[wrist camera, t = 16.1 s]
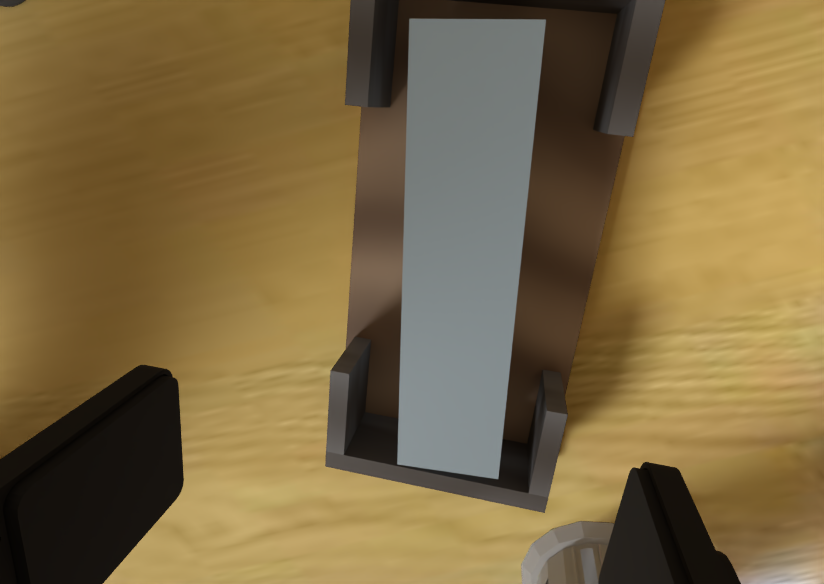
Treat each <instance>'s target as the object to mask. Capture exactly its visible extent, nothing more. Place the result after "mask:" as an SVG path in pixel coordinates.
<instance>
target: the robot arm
mask: <svg viewBox="0 0 824 584" xmlns="http://www.w3.org/2000/svg"><path fill="white" fill-rule="evenodd" d="M183 481H184V478H183V460H182V442H181V424H180V406H179V388H178V381H177V379H175V378H173V377H172V374H171V372H170V371H169V370H167V369H163V368H158V367H153V366H147V365H140V366H138V367H136V368H134V369H133V370H131V371H130V372H128V373H127V374H125V375H124V376H123V377H121V378H120V379H118V380H117V381H115V382H114V383H112V384H111V385H109V386H108V387H106V388H105V389H103V390H102V391H100V392H99V393H97V394H96V395H95V396H93V397H92V398H90V399H89V400H87V401H86V402H84V403H83V404H81V405H80V406H78V407H77V408H75V409H74V410H72V411H71V412H69V413H68V414H66V415H65V416H64V417H62V418H61V419H59V420H58V421H56V422H55V423H53V424H52V425H50V426H49V427H47V428H46V429H44V430H43V431H41V432H40V433H38V434H37V435H36V436H34V437H33V438H31V439H30V440H28V441H27V442H25V443H24V444H22V445H21V446H19V447H18V448H16V449H15V450H13V451H12V452H10V453H9V454H8V455H6V456H5V457H3V458H2V459H0V584H103V583H104V581H105V580H106V579H107V578H108V577H109V576H110V575H111V573H112V572H113V571H114V570H115V569H116V568H117V567H118V565H119V564H120V563H121V562H122V561H123V560H124V559H125V557H126V556H127V555H128V554H129V553H130V552H131V550H132V549H133V548H134V547H135V546H136V545H137V544H138V542H139V541H140V540H141V539H142V538H143V537H144V536H145V534H146V533H147V532H148V531H149V530H150V529H151V528H152V526H153V525H154V524H155V523H156V522H157V521H158V520H159V518H160V517H161V516H162V515H163V514H164V513H165V511H166V510H167V509H168V508H169V507H170V506H171V505H172V503H173V502H174V501H175V500H176V499H177V497H178V496H179V494H180V492H181V490H182V487H183ZM598 584H741V583H740V581H739V579H738V577H737V575H736V572H735V570H734V568H733V566H732V564H731V562H730V561H729V559H728V558H727V556H726V555H725V554H723V553H722V552H719V551H716V550H715V548H714V546H713V543H712V541H711V539H710V537H709V535H708V532H707V530H706V528H705V526H704V524H703V521H702V519H701V517H700V515H699V513H698V510H697V508H696V506H695V504H694V502H693V499H692V497H691V495H690V493H689V491H688V488H687V486H686V484H685V482H684V479H683V477H682V475H681V473H680V471H679V470H678V469H677V468H675V467H670V466H664V465H659V464H654V463H649V462H645V463H643V464H642V466H641V468H640V469H639V468H632V469H631V470H630V473H629V476H628V479H627V483H626V486H625V489H624V493H623V496H622V500H621V503H620V506H619V510H618V513H617V517H616V520H615V523H614V527H613V530H612V533H611V537H610V540H609V544H608V547H607V550H606V554H605V557H604V561H603V564H602V567H601V571H600V575H599V582H598Z"/></svg>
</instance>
